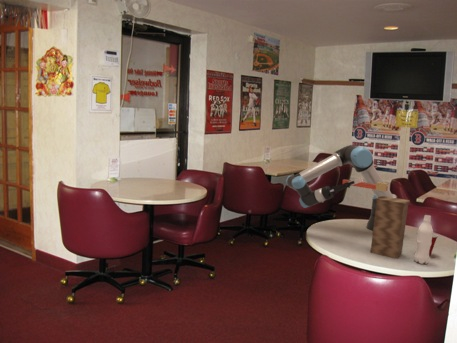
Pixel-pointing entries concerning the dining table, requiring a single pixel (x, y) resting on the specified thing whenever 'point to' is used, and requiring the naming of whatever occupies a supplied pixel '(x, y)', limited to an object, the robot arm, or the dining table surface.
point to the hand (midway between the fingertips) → (361, 179)
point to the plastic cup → (432, 242)
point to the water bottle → (424, 241)
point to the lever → (371, 185)
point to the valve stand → (389, 226)
